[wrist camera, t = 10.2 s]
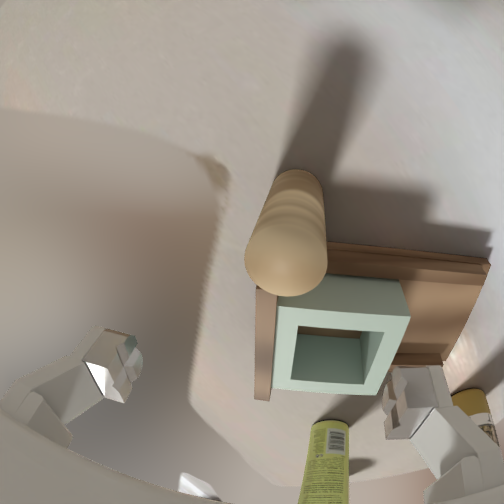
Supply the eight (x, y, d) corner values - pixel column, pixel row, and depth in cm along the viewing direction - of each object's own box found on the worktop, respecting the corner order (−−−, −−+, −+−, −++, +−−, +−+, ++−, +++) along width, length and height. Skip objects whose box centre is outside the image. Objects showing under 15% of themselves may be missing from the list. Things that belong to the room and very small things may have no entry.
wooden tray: (270, 236, 23) (255, 288, 18) (486, 258, 20) (520, 306, 15) (266, 343, 29) (254, 399, 23) (443, 353, 26) (458, 404, 20)
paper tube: (434, 420, 32) (444, 586, 11) (440, 394, 29) (458, 588, 8) (478, 407, 30) (500, 566, 8) (488, 379, 27) (522, 562, 6)
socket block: (284, 262, 23) (276, 305, 18) (396, 272, 21) (410, 316, 17) (278, 343, 27) (270, 387, 23) (370, 350, 26) (375, 395, 21)
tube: (326, 440, 37) (312, 566, 20) (299, 429, 36) (278, 564, 19) (356, 425, 34) (350, 564, 17) (329, 414, 33) (315, 565, 17)
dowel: (271, 167, 21) (243, 221, 13) (324, 171, 20) (332, 228, 12) (270, 216, 22) (244, 292, 15) (320, 220, 22) (321, 299, 14)
